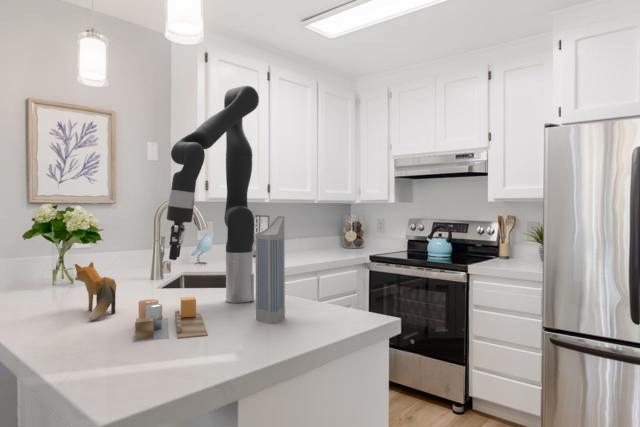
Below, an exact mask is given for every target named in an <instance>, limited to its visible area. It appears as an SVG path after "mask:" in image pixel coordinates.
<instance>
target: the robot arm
mask: <svg viewBox="0 0 640 427" xmlns="http://www.w3.org/2000/svg"><path fill="white" fill-rule="evenodd" d="M259 101H260V96H259V94H258V91H257V90H256V88H254V87H253V86H250V85H241V86H236V87H232V88H229V89H228V90H226V92H225V94H224V100H223V105H224V108H223V109H222V110H220V111H218V112H217V113H214V114H213V115H212V116H210V117H209V118H207V119H205V121H203V123H201V124H200V125H199V126H198V127H196V129H195V130H194V131H193V132H191V133H190V134H187V135H186V136H184V137H182V138H181V139H179V140H178V141H176V143H174V145H173V146H172V148H171V151H170V156H171V159H172V161H173V162H174V163H175V164H177V165H179V166H181V165H182V167H181V170H180V171H179V170H178V171H177V172H174V174H173V175H172V181H171V191H170V193H169V198H168V205H167V212H166V220H167V221H171V222H174V223H173V224H172V225H171V227H170V236H169V247H170V249H169V254H168V255H169V256H168V259H169V260H170V261H171V260H172V261H176V260H178V258H179V257H180V255H181V248H182V245H183V242H184V238H185V232H186V227H185V224H184V223H189V224H190V223H192V221H193V216H194V209H195V208H194V206H195V200H196V199H195V192H196V186H197V179H198V177H199V175H200V172H201V170H202V167H203V165H204V164H205V163H204V162H205V158H206V155H205V154H206V153H205V150H208V149H210V148H212V146H214V145H215V143H216V142H217V141H218V140H220V138H221V137H222V136H224V134H225V136H226V137H225V140H226V141H225V142H226V144H225V145H226V149H225V177H226V182H225V183H226V201H225V202H226V203H225V209H224V218H223V220H224V224H225V226H226V228H227V238H226V239H227V240H226V243H225V301H226V302H227V303H231V304H232V303H233V304H234V303H235V304H236V303H237V304H239V303H241V304H242V303H248V302H254V301H255V274H254V272H253V268H254V267H253V246H254V243H255V218H254V214H253V212H252V210H251V209H250V208H249V207H248V193H249V192H248V191H249V186H250V181H251V178H252V177H251V176H252V172H253V149H252V147H251V144H250V142H249V140H248V138H247V136H246V134H245V131H244V126H243V118H245V117H246V116H248V115H249V114H251V113H252V112H254V110H256V109H257V108H258V106H259Z"/></svg>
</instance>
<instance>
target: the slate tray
mask: <svg viewBox="0 0 640 427" xmlns="http://www.w3.org/2000/svg"><path fill="white" fill-rule="evenodd" d="M169 331H170V330H169V317H162V329H159V330H154V336H153V338H142V339H135V332H134V334H133V338H132V343H137V342H146V341H147V342H149V341H157V340H166V339H168V340H169V339H170V336H169V334H170V333H169Z"/></svg>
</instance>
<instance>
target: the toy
mask: <svg viewBox="0 0 640 427" xmlns="http://www.w3.org/2000/svg"><path fill="white" fill-rule="evenodd" d="M74 267H75V270H76V277H74V280H75V281H80V282H82V283H84V285H85V286H84V287H85V289H86V291H87V296H88V310H87V311H91V312H90V314H89V315H88V319H89V321H90V320H91V321H92V320H97V319H99V318H101V317H102V316H104V314H105V313H107V311H108V310H109V308H110V309H111V310H110V312H111V315H115V314H116V291H117V283H116V281H115V279H114V278H111V277H107V276H103V277H101V276H100V274H99V273H98V272H97V270H96V268H94V262H92V261H91V262H90V263H89V265H87V266H83V267H81V265H79V264H77V263H75V264H74ZM94 296H96V297H95V298H96V300H95V301H96V306H95V307H94V309H93V304H94V303H93V302H94Z"/></svg>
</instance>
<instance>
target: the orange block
mask: <svg viewBox="0 0 640 427" xmlns="http://www.w3.org/2000/svg"><path fill="white" fill-rule="evenodd" d="M196 314H197V298H196V296H190V297H189V296H188V297H187V296H186V297H180V315H181V318H182V317H194V316H196Z"/></svg>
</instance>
